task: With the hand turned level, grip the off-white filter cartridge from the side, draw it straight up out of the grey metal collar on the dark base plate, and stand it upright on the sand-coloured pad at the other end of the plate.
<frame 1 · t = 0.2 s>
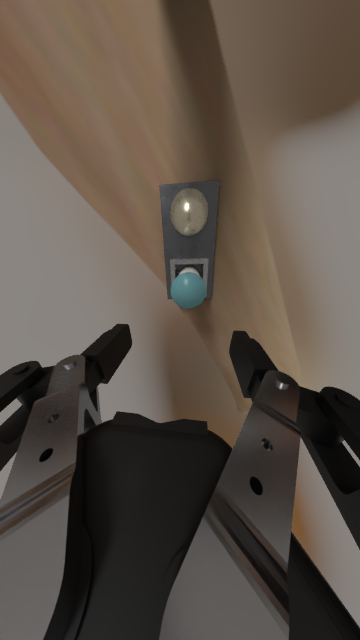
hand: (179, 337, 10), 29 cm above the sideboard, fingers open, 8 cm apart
filter cartridge: (189, 276, 35), point 2 cm above the sideboard, touching filter housing
filter housing: (189, 250, 33), on the sideboard
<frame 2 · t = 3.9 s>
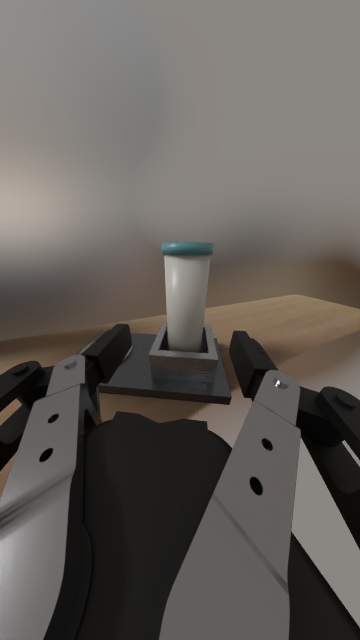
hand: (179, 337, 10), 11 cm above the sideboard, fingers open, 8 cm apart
filter cartridge: (184, 357, 22), point 2 cm above the sideboard, touching filter housing
filter housing: (148, 361, 23), on the sideboard
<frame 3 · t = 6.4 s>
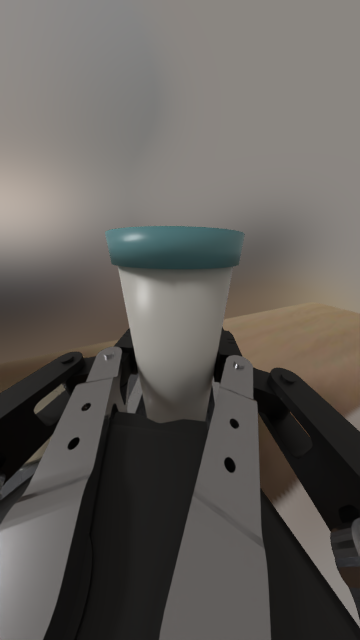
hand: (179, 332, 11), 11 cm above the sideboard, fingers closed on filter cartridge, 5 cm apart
filter cartridge: (176, 427, 13), point 2 cm above the sideboard, touching filter housing, gripper
filter housing: (121, 428, 14), on the sideboard
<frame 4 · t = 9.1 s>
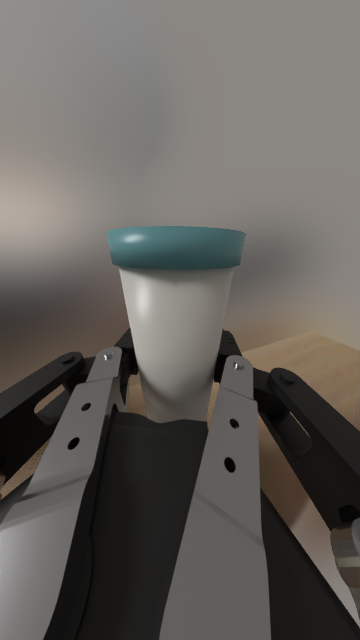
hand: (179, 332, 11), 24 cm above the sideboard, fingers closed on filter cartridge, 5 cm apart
filter cartridge: (177, 428, 13), point 14 cm above the sideboard, touching gripper
when the fingers open (13 cm above the sideboard, at t = 12.2 s): filter cartridge drops 1 cm, resting on filter housing.
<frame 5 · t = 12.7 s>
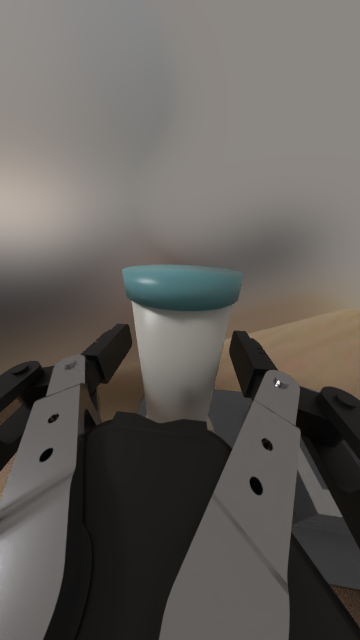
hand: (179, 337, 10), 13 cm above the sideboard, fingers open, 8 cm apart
filter cartridge: (176, 436, 14), point 2 cm above the sideboard, touching filter housing
filter housing: (242, 452, 14), on the sideboard
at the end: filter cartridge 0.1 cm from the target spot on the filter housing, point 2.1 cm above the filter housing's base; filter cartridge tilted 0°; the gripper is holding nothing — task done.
